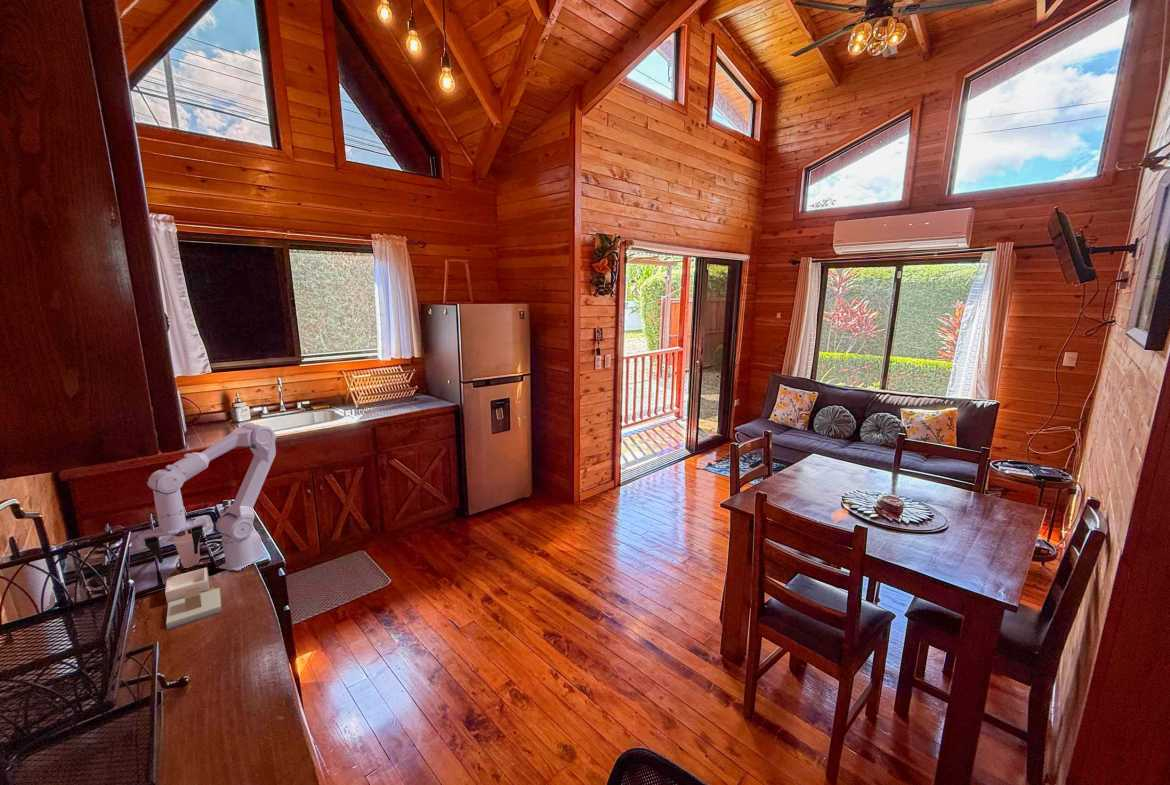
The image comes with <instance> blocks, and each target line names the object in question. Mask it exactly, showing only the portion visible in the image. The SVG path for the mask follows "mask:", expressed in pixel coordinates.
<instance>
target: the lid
mask: <svg viewBox="0 0 1170 785" xmlns="http://www.w3.org/2000/svg"><path fill="white" fill-rule="evenodd" d="M220 596H221V588H220V587H217V588H214V589H213V588H212V589H209V591H206V592H203V593H201V592H200V586H199V587H195V588H192V589H188V590H185V598H183V599H179V600H176V601H173V602H169V603H168V604H167V613H166V622H165V624H166V627H167V626H170V625H173V624H176V623H179V622H182V621H185V620H188V619H192V618H195V617H198V616H201V615H204V614H207V613H210V612H214V611H217V610H220V609H221V610H222V598H220Z"/></svg>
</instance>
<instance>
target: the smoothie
mask: <svg viewBox="0 0 1170 785" xmlns="http://www.w3.org/2000/svg"><path fill="white" fill-rule="evenodd" d="M201 538H202V537H200V539H201ZM173 546H175V548H176V550H177V553H178V555H179V558H180V561H181V564H182V566H183V569H184V568H189V567H192V566H194V565H195V564H197V563H198V562H199V560H200V543H199V544H198V554H195V553H194V543H193V538H192V534H191V533H188V531H184V535H181V536H179V537H177V538H175V539H174V540H173Z"/></svg>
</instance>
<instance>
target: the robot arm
mask: <svg viewBox="0 0 1170 785" xmlns="http://www.w3.org/2000/svg"><path fill="white" fill-rule="evenodd" d="M277 438H278V437H277V435H276V433H275V432H274V430H273V429H272V428H271V427H269V426H265V425H260V424H256V423H254V422H253V423H252V422H248V423H245V424H243V425H241V426H240V427H237V428H235V429H233V430H232V431H231V432H230V433H228V434H227V435H226V436H225V437H223V438H221V439H220V440H218V441H216V442H214V444H212V445H211V446H209V447H207V448H206V449H204V450H203V451H201V452H194V451H193V452H191V453H188V452H187V453H185V454H184V455H183V457H182V458H181V459H179V460H178V461H175V462H174V463H172V464H167V465H166V466H165V469H158V470H156V471H154V472H152V473H151V474H150V476H149V477H148V479H147V480H148V481H147V482H146V485H147V487H148V488H150V489H151V490H152V493H153V497H154V507H155V510H156V511H155V512H156V515H157V521H158V526H159V527H156V528H154V529H151V530H147V531H144V532H140V533H138V536H137V537H138V541H139V543H143V542H144V545H145V546H146V548H147V549H149V550H150V551H151V553H153V555H154V556H155V558H156V559H157V562H158V563H159V564H162V563H163V561H164V558H163V554H162V550H161V547H160V546H161V545H160V539H159V538H161V537H165V536H170V535H171V536H172V535H176V534H178V533H182V532H185V531H187V532H188V531H191V533H190V534H192V538H193V543H194V553H195V554H198V544H199V545H200V540H201V538H202V537H201V536H202V535H203V532H204V531H203V530H204V528H208V522H207V518H202V519H196V520H195V519H193V520H186V519H187V517H186V514H185V508H184V502H183V497H182V496H183V495H182V492H181V488H182V487H183V485H184V483H185V482H187V481H188V480H190V479H191V478H193V477H194V476H196V475H198V474H199V473H201V472H203V471H204V470H206V469H208V468H209V464H210V462H211V461H213V460H214V459H215V460H216V458H218V457H220V456H223V455H224V454H226V453H228V452H230V451H232V450H233V449H235V448H237V447H248V448H249V449H250V451H251V452H252V454H253V458H252V459H251V462H250V465H249V466H248V468H247V471H246V474H245V475H244V478H243V480H242V482H241V485H240V487H239V489H238V491H237V493H236V496H235V498H234V501H233V503H232V504H231V505H229V506H228V507H227V508H225V510H224V512H223V514H222V515H221V516H220V517H219V518H218V519H217V521H216V523H215V529H216V530H217V532H218V533H220V534H221V543H222V544H221V545H222V548H223V549H222V550H223V555H224V561H225V563H222V564H220V565H219V566H218V569H221V570H229V571H236V572H240V571H242V570H243V569H245V568H247V567H249V566H250V565H252V564H254V563H255V562H257V561H259V560H261V559H263V558H264V557H266V554H265V553H264V551H263V542H262V537H261V535H260V533H259V532H258V531H257V530H255V529H254V521H255V520H254V519H255V517H256V516H255V513H254V506H255V504H256V502H257V499H258V497H259V495H260V492H261V490H262V487H263V486H264V483H265V480H266V478H267V476H268V473H269V471H270V469H271V466H272V464H273V462H274V459H275V458H276V454H277V449H276V439H277ZM200 537H201V538H200ZM248 565H249V566H248ZM246 566H247V567H246ZM244 567H245V568H244ZM242 568H243V569H242ZM241 569H242V570H241ZM239 570H240V571H239Z"/></svg>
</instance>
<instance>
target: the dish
mask: <svg viewBox="0 0 1170 785" xmlns="http://www.w3.org/2000/svg"><path fill="white" fill-rule="evenodd" d="M199 586H200V592H201V593H203V592H206V591H210V577H209V571H208V567H207V566H206V567H203V568H198V569H196V570H190V571H188V572H184V573H180V574H177V575H174V576H173V575H172V576H169V577H166V583H165V591H164V593H165V595H164V596H165V598H166V604H167V605H168V603H169V602H173V601H176V600H179V599H183V598H185V590H188V589H192V588H195V587H199Z"/></svg>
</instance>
